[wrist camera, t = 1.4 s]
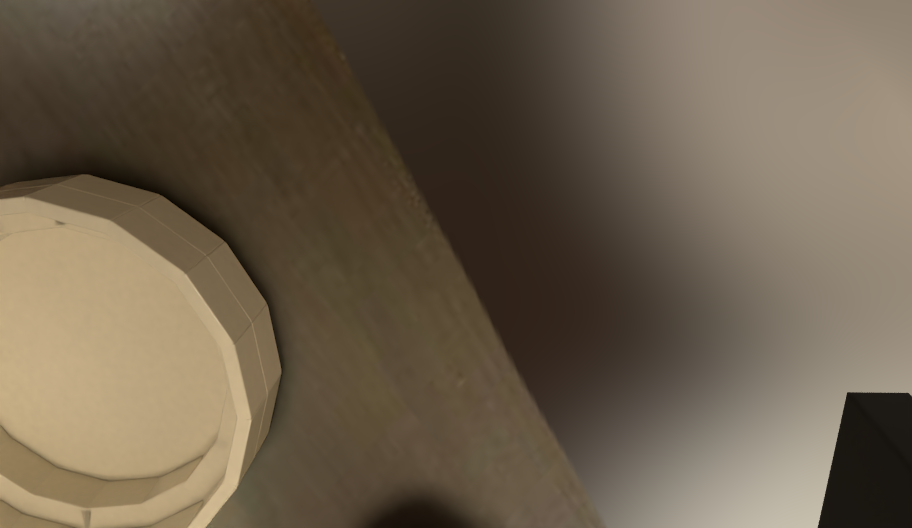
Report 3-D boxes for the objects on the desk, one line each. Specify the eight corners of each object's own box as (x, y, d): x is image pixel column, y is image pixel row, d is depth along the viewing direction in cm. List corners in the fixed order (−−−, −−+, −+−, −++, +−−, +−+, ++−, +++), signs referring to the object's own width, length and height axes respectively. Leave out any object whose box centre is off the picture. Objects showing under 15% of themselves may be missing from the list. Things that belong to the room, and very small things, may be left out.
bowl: (-119, 196, 34) (-221, 225, 29) (241, 152, 32) (195, 175, 28) (-7, 515, 39) (-79, 584, 34) (311, 489, 37) (283, 559, 32)
